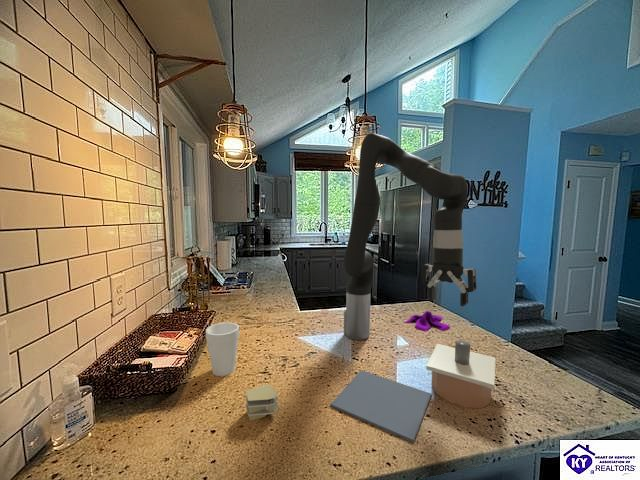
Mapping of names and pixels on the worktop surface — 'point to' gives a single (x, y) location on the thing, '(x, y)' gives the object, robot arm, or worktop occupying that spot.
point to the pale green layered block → (261, 401)
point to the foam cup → (222, 347)
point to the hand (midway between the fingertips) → (447, 302)
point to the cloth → (427, 321)
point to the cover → (463, 364)
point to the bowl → (461, 391)
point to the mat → (384, 404)
